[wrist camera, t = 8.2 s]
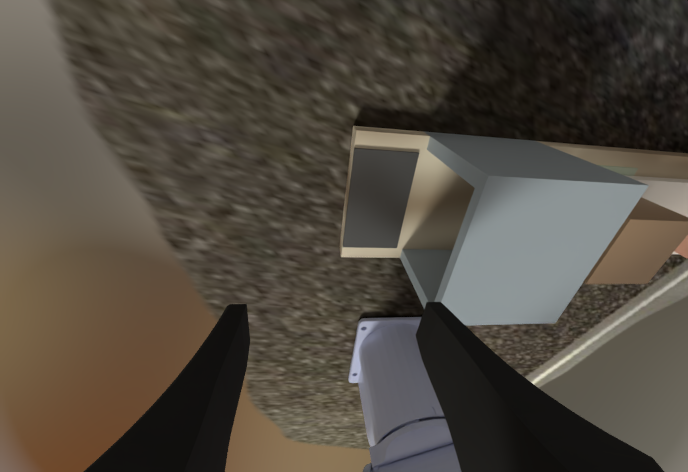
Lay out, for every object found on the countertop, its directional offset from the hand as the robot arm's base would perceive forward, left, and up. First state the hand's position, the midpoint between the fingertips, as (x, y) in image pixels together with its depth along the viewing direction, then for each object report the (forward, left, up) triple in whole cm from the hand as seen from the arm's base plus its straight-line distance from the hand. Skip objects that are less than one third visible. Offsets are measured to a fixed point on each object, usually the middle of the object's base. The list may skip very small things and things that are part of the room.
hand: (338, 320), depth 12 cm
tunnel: (+1, -10, -10) cm, 14 cm away
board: (+1, -15, -10) cm, 18 cm away
